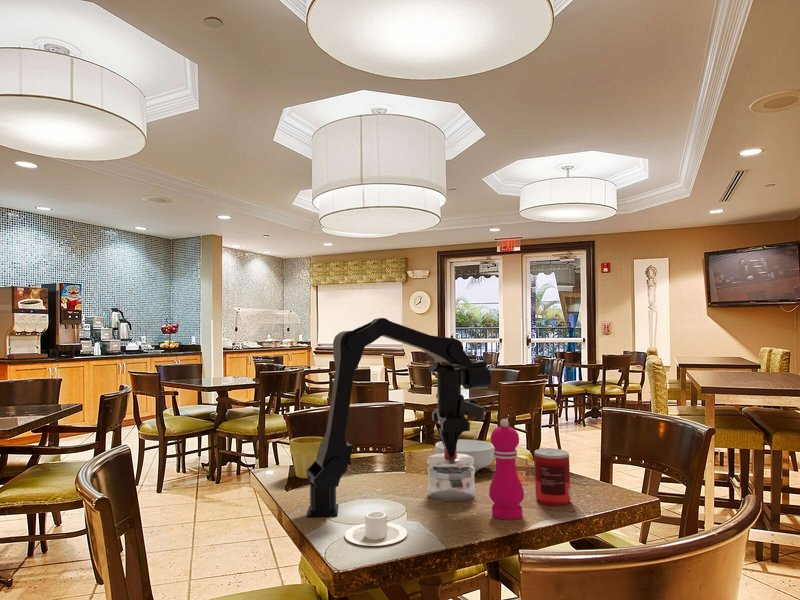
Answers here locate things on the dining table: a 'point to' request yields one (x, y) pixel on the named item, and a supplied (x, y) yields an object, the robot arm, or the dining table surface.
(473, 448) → the cereal bowl
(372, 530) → the candle holder
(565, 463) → the canned food
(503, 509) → the pepper mill
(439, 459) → the lid
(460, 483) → the pot
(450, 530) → the dining table surface
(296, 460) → the plant pot
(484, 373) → the robot arm
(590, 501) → the dining table surface
